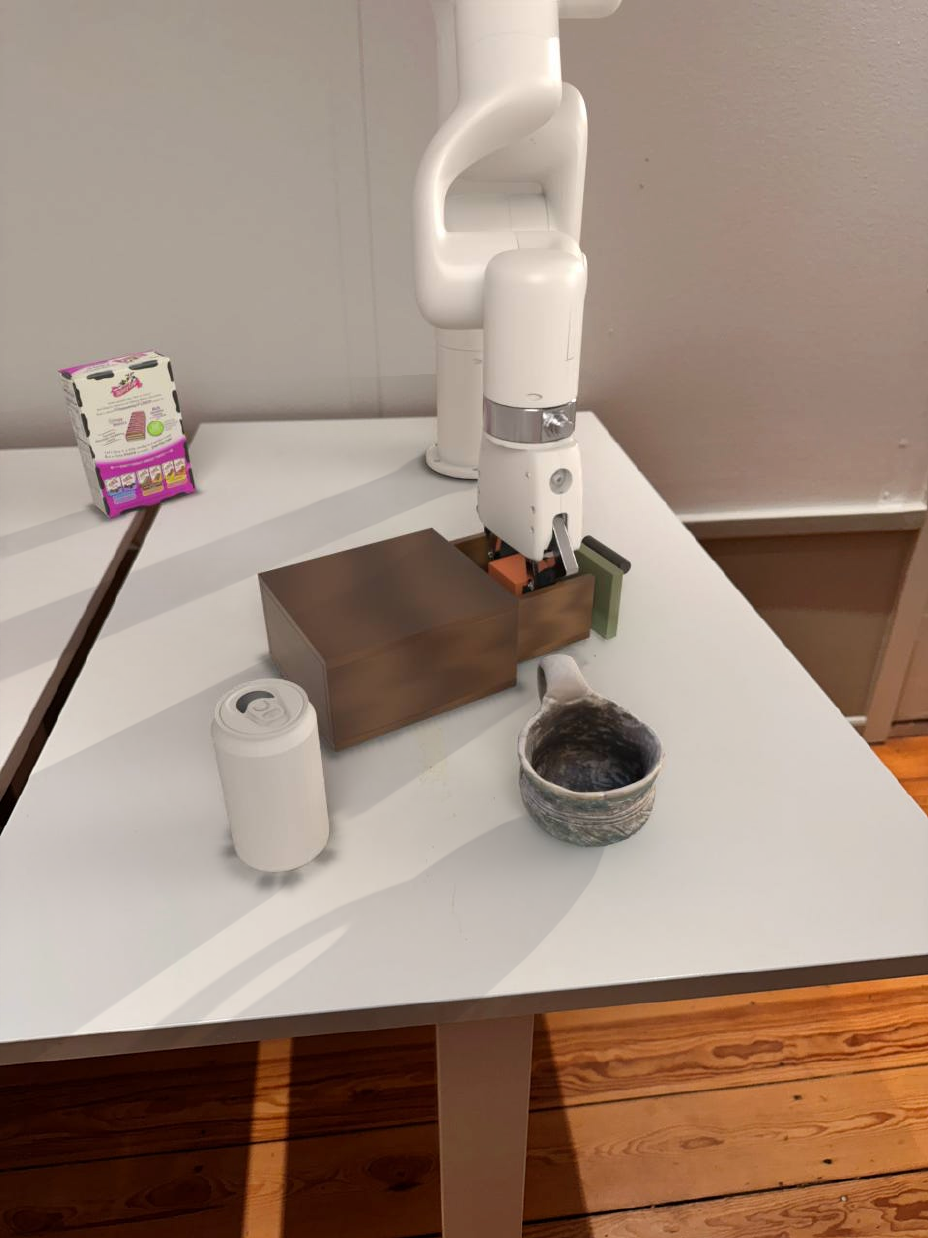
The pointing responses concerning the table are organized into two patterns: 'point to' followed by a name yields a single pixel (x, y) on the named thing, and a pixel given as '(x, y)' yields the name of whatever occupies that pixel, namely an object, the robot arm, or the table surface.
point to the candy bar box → (129, 431)
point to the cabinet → (390, 633)
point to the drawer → (564, 598)
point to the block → (512, 572)
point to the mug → (586, 761)
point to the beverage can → (271, 774)
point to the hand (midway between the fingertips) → (521, 606)
